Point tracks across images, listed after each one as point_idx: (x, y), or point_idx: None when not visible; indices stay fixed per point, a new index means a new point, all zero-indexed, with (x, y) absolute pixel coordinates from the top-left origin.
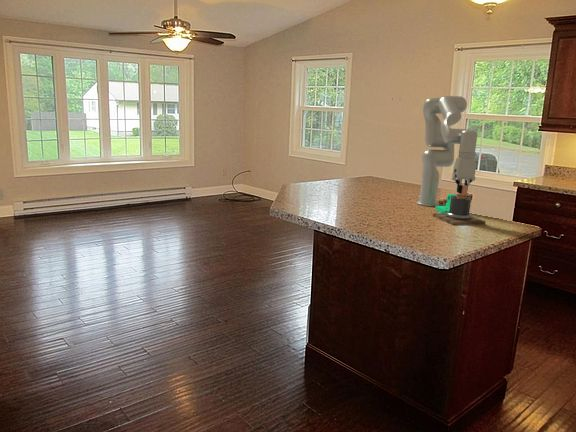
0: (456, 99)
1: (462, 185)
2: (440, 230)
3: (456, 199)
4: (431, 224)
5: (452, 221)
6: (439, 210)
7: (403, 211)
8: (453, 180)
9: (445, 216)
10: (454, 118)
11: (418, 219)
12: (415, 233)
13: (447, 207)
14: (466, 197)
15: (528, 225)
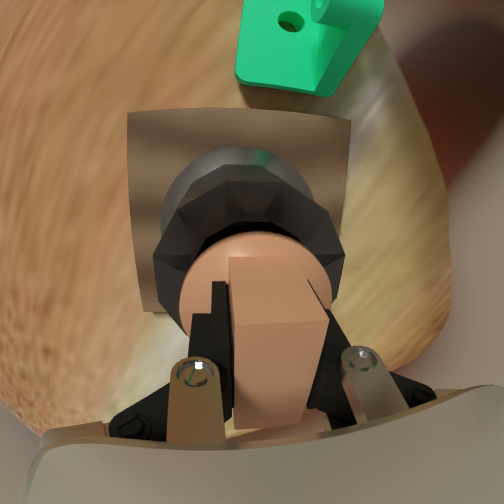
0: None
1: (235, 414)
2: (76, 358)
3: (174, 315)
4: (61, 286)
5: (146, 305)
6: (241, 17)
7: (47, 27)
8: (84, 424)
9: (162, 195)
10: None
11: (33, 194)
12: (15, 363)
13: (310, 8)
14: (323, 263)
15: (450, 307)
